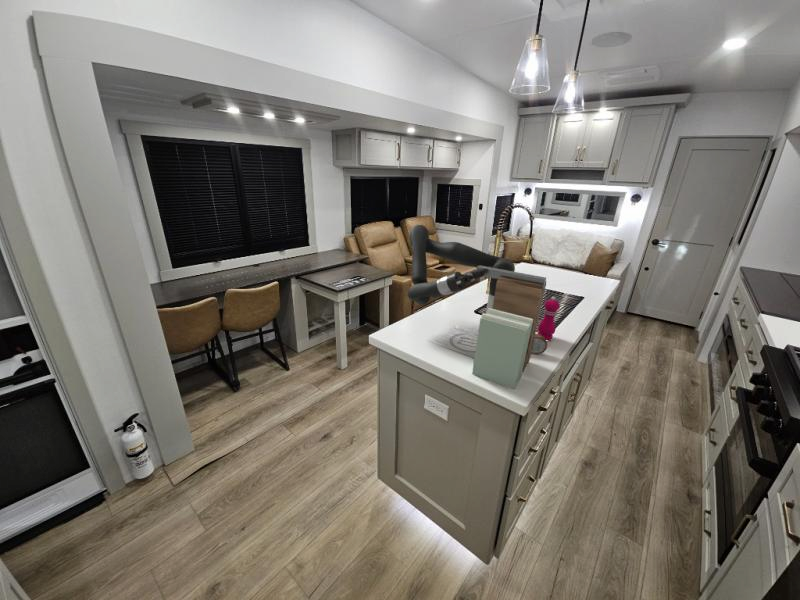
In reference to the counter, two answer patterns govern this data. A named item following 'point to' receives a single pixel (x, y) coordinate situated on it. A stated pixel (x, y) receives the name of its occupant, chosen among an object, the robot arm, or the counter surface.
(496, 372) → the sage green box
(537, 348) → the tin
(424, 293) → the robot arm
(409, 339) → the counter surface
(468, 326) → the counter surface
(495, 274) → the bar
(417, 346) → the counter surface
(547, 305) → the pepper mill
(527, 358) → the walnut post
